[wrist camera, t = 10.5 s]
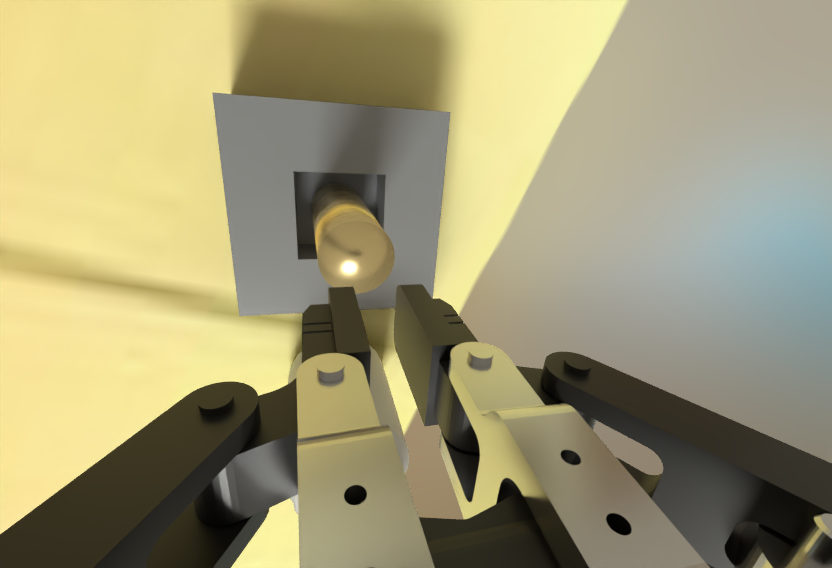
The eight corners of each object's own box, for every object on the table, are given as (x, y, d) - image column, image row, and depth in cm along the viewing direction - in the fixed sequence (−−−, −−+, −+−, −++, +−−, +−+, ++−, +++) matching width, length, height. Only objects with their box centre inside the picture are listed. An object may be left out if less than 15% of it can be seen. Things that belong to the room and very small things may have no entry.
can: (275, 395, 32) (260, 538, 21) (308, 318, 30) (309, 433, 19) (360, 412, 35) (384, 545, 24) (395, 343, 33) (437, 455, 22)
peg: (310, 182, 24) (315, 221, 15) (361, 183, 25) (396, 220, 16) (312, 232, 25) (319, 296, 16) (361, 231, 26) (393, 291, 17)
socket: (230, 96, 23) (212, 92, 19) (425, 111, 26) (450, 112, 22) (250, 283, 28) (239, 316, 23) (413, 277, 31) (431, 305, 26)
